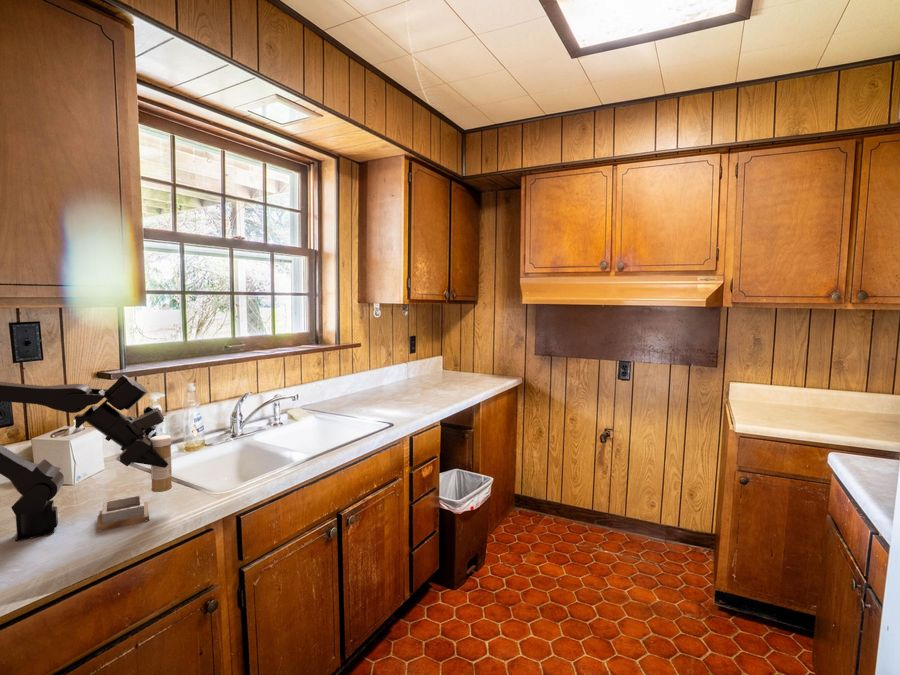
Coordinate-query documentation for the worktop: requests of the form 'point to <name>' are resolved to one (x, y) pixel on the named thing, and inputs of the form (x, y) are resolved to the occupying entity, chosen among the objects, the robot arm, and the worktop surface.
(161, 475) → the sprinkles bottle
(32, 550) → the worktop surface
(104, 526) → the baseplate
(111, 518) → the collar
